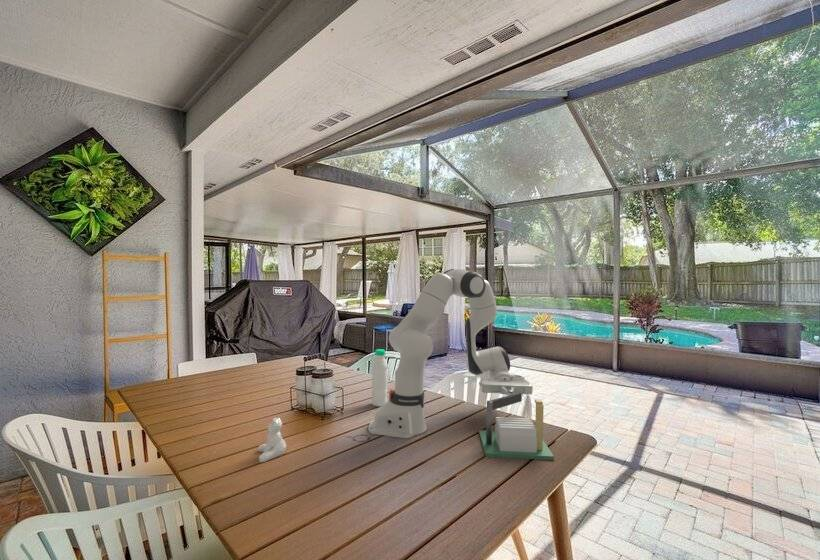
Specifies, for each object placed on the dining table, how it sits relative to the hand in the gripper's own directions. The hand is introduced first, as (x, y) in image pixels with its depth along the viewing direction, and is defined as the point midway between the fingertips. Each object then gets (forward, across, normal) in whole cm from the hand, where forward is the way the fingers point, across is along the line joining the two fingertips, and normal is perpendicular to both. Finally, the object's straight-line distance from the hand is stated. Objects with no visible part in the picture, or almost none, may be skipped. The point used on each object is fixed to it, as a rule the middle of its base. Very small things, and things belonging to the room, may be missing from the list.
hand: (509, 393), depth 144 cm
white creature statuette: (+27, -82, +15) cm, 87 cm away
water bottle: (-23, -54, +15) cm, 60 cm away
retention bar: (+10, -4, +13) cm, 17 cm away
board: (+13, -1, +14) cm, 19 cm away
